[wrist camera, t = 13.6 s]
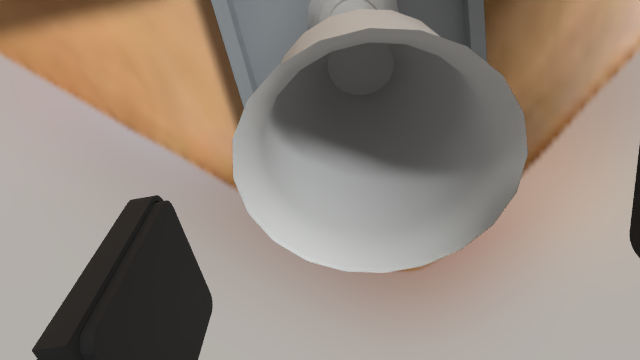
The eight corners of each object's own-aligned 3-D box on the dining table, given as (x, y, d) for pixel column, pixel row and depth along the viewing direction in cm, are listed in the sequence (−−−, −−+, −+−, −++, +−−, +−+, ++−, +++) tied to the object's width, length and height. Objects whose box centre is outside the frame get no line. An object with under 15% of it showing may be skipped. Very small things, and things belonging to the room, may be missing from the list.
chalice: (417, -57, 26) (542, 9, 11) (419, 70, 30) (516, 264, 14) (279, -41, 27) (204, 45, 11) (295, 82, 30) (255, 282, 15)
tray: (465, -134, 25) (476, -136, 24) (479, 90, 31) (489, 103, 29) (200, -69, 27) (190, -66, 25) (260, 132, 33) (255, 147, 31)
